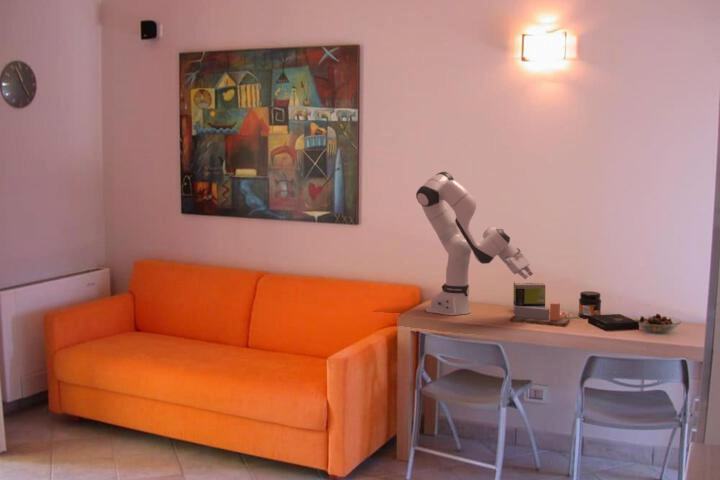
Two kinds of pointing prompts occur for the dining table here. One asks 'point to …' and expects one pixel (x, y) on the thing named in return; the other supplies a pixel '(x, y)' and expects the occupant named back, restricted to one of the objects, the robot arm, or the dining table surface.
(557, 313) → the stub
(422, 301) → the dining table surface
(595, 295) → the supplement container
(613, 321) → the portable cd player
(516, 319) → the brown flat board
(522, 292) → the tea box
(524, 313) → the grey long bar
